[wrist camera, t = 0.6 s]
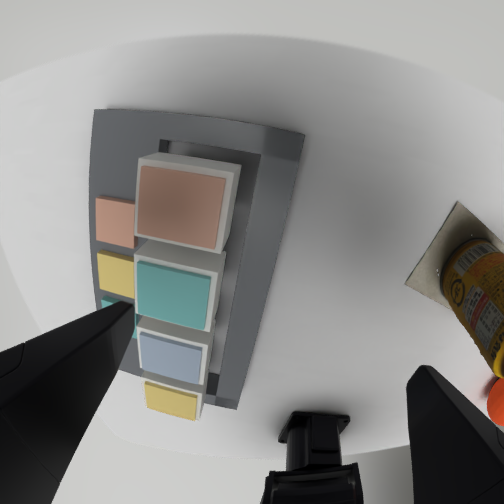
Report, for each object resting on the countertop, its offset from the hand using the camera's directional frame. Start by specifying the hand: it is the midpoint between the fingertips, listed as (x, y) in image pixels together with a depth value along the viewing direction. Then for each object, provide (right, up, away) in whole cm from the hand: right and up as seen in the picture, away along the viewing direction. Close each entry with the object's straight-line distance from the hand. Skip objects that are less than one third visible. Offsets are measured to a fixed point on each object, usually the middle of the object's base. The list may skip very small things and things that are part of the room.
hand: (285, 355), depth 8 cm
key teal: (-5, +2, +10) cm, 12 cm away
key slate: (-6, -2, +12) cm, 14 cm away
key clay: (-4, +6, +8) cm, 11 cm away
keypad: (-6, +1, +13) cm, 14 cm away
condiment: (+16, +2, +11) cm, 19 cm away
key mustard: (-6, -6, +14) cm, 17 cm away
